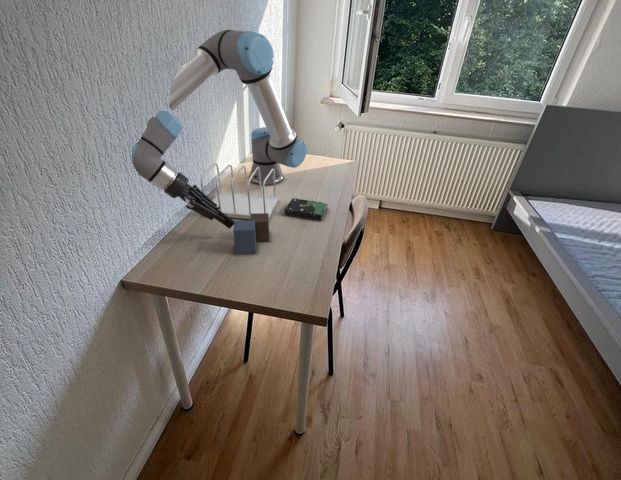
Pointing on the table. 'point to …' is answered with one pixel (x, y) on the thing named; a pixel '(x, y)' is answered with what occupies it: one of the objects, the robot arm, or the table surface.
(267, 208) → the file sorter
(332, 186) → the table surface
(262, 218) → the walnut block
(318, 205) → the disk drive
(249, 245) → the slate-blue block
